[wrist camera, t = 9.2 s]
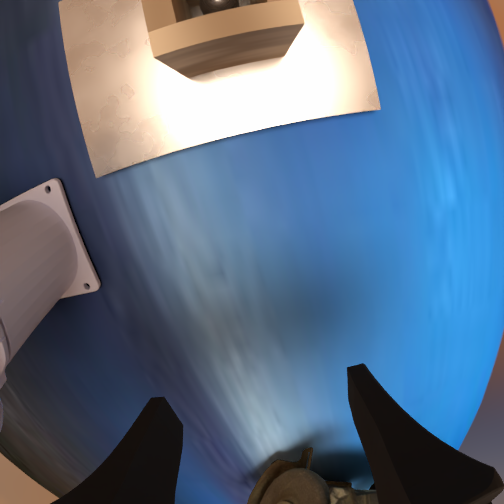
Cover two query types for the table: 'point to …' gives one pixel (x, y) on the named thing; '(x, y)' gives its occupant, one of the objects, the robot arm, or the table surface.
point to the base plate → (204, 81)
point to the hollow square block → (220, 33)
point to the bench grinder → (305, 486)
